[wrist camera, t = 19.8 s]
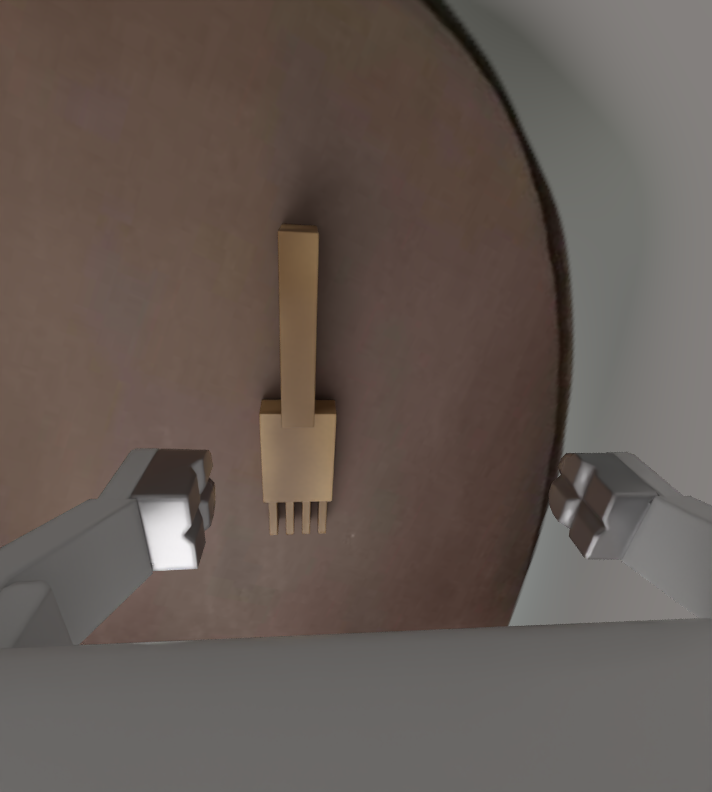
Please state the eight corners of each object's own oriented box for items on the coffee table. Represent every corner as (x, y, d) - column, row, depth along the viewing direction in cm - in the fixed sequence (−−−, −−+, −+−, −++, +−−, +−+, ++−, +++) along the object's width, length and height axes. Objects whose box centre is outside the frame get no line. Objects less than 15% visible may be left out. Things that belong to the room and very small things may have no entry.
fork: (343, 227, 19) (349, 234, 16) (328, 519, 27) (331, 556, 24) (254, 221, 18) (245, 228, 16) (267, 521, 27) (263, 559, 24)
